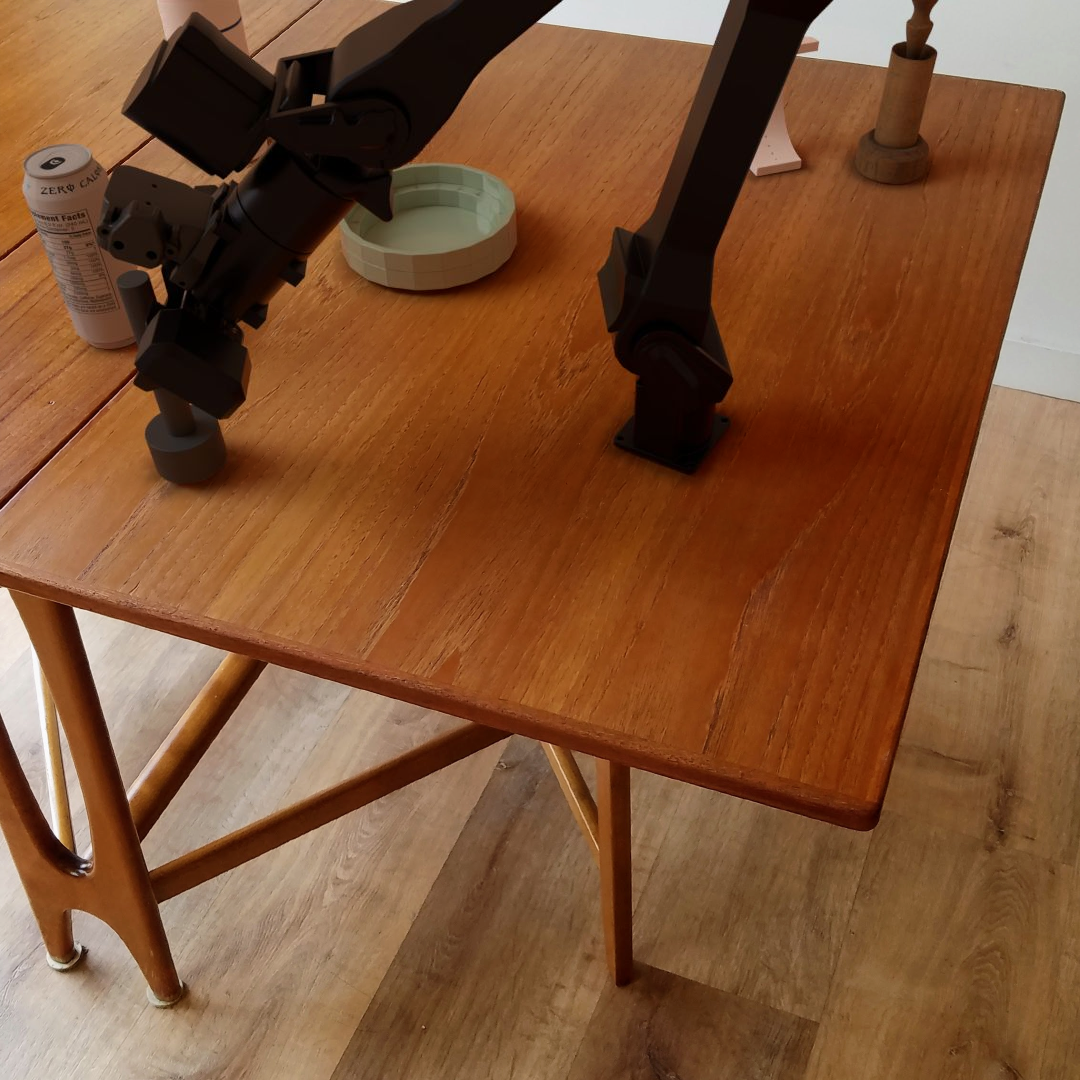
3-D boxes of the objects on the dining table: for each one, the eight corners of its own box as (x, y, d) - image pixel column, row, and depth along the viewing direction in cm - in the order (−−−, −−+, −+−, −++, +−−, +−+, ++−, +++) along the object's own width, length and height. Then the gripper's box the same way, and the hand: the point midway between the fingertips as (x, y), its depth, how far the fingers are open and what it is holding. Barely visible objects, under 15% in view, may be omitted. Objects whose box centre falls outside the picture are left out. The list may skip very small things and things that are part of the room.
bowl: (452, 315, 94) (448, 273, 91) (308, 265, 100) (300, 223, 97) (549, 229, 103) (548, 188, 100) (411, 187, 109) (407, 148, 106)
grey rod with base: (193, 493, 79) (131, 310, 69) (141, 468, 81) (73, 287, 71) (242, 451, 82) (190, 270, 72) (190, 428, 84) (133, 248, 73)
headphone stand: (756, 176, 109) (771, 49, 100) (730, 147, 113) (742, 23, 104) (800, 168, 110) (819, 41, 101) (773, 140, 114) (788, 15, 105)
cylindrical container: (274, 157, 114) (218, -124, 96) (202, 172, 112) (131, -112, 94) (259, 126, 118) (202, -147, 100) (189, 140, 117) (119, -136, 99)
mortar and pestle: (925, 187, 107) (973, -15, 94) (853, 181, 108) (891, -20, 95) (923, 153, 111) (969, -45, 98) (854, 148, 112) (891, -49, 99)
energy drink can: (170, 320, 95) (117, 148, 84) (121, 360, 91) (59, 186, 80) (113, 302, 97) (54, 133, 86) (63, 341, 93) (-5, 169, 82)
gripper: (181, 60, 71) (59, 230, 79) (125, 218, 58) (-14, 403, 66) (329, 171, 77) (203, 319, 84) (309, 337, 64) (161, 494, 71)
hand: (143, 375), depth 76 cm, fingers closed on grey rod with base
